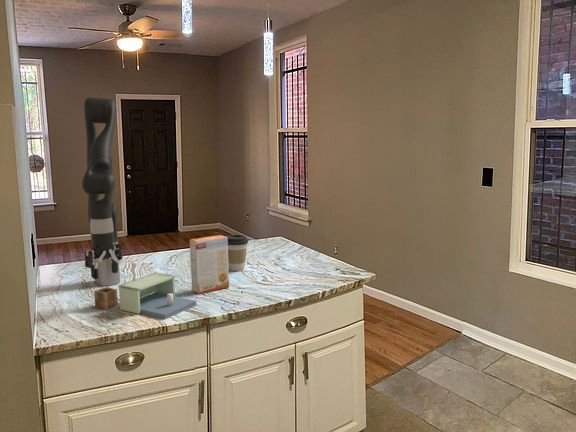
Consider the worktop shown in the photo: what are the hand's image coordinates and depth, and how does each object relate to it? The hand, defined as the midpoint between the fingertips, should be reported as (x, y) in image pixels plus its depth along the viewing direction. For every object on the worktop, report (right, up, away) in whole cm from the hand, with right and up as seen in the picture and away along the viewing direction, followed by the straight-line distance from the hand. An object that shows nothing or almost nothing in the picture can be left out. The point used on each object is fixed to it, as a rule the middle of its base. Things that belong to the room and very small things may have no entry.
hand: (105, 275), depth 179 cm
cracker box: (+34, -8, +22) cm, 41 cm away
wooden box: (0, -11, +2) cm, 11 cm away
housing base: (+19, -11, +2) cm, 22 cm away
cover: (+14, -11, +4) cm, 18 cm away
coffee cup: (+41, -3, +50) cm, 65 cm away
